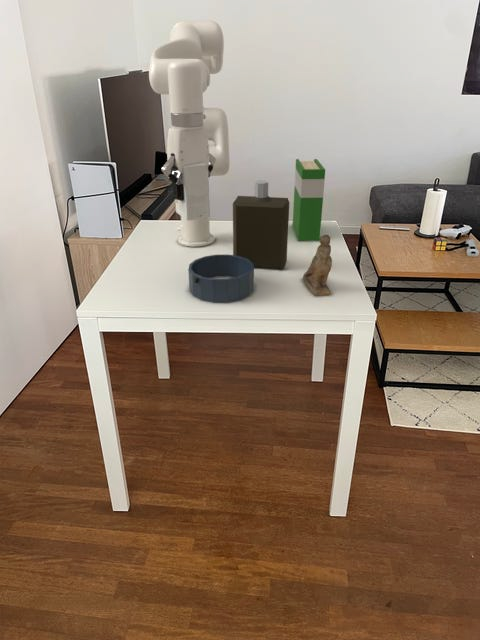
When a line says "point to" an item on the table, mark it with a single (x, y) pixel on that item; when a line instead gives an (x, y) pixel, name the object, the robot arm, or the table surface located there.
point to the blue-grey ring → (221, 288)
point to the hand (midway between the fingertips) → (191, 195)
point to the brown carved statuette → (319, 269)
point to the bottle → (261, 228)
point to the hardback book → (308, 199)
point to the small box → (194, 193)
